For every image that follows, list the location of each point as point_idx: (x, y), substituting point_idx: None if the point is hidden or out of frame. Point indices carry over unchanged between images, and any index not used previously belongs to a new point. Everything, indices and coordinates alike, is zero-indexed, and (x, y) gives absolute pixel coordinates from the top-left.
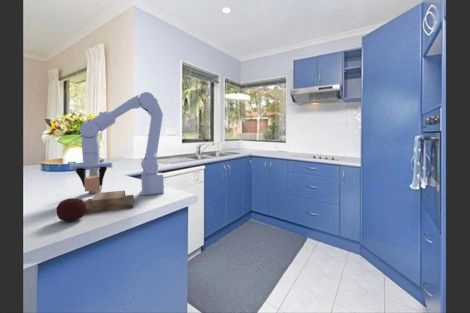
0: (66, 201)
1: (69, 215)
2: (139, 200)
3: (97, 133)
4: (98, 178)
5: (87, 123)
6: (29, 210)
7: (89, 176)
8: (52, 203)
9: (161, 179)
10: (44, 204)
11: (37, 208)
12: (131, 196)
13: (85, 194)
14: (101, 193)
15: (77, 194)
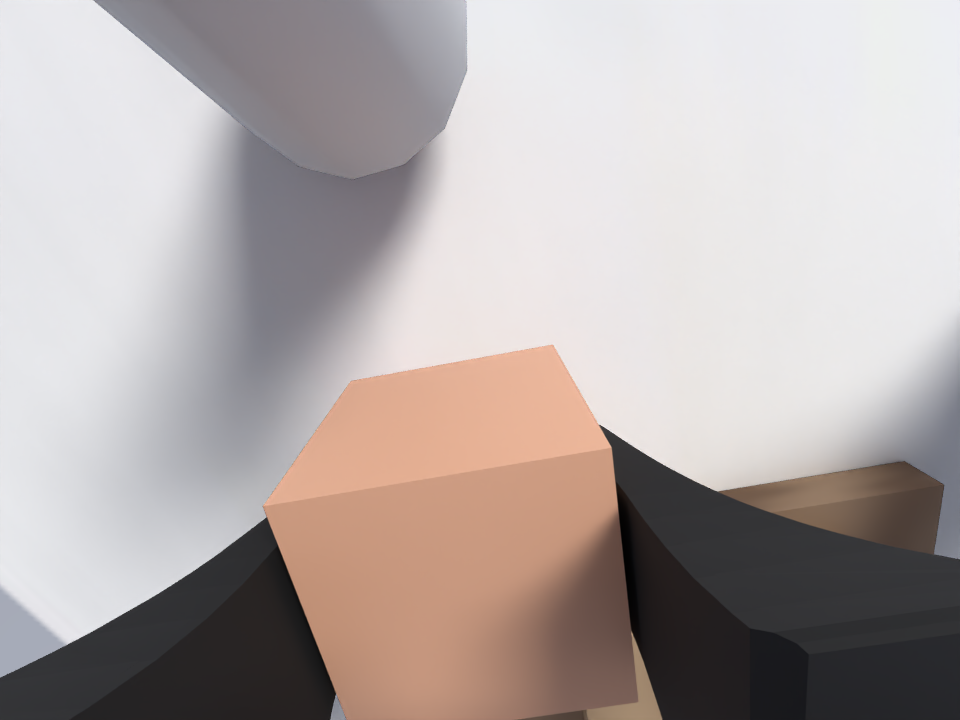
0: None
1: None
2: (951, 541)
3: None
4: (628, 695)
5: None
6: (65, 636)
7: (120, 12)
8: (109, 486)
9: None
10: (52, 504)
11: (89, 601)
12: (914, 546)
13: (263, 152)
14: (644, 670)
15: (139, 125)
